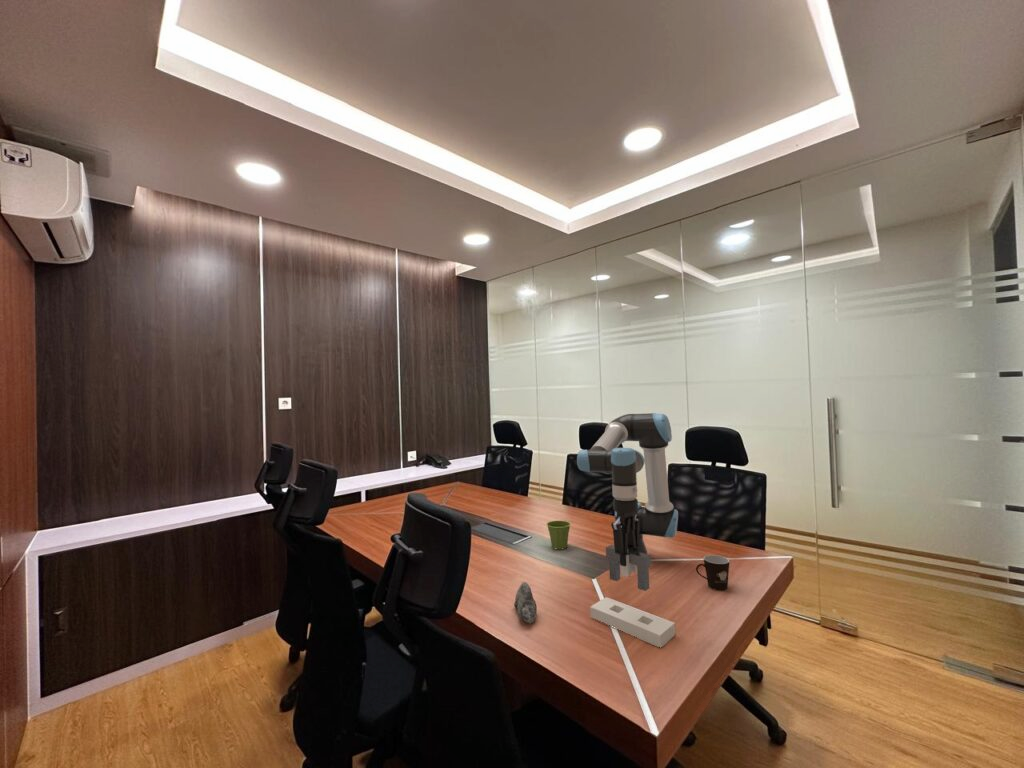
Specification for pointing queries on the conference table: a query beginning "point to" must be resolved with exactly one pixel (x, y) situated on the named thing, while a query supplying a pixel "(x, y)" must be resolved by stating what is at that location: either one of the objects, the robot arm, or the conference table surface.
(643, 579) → the dark grey u-shaped bracket
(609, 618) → the white slotted block
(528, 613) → the mineral rock
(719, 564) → the coffee mug
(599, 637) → the conference table surface
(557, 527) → the plant pot
